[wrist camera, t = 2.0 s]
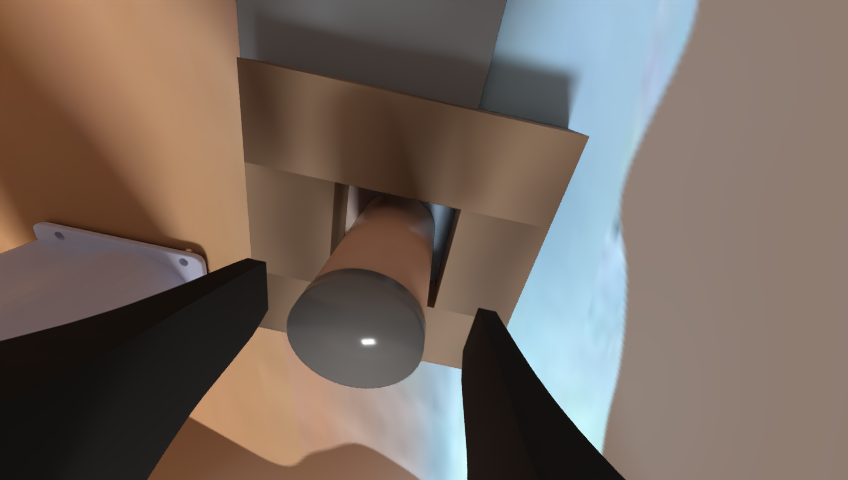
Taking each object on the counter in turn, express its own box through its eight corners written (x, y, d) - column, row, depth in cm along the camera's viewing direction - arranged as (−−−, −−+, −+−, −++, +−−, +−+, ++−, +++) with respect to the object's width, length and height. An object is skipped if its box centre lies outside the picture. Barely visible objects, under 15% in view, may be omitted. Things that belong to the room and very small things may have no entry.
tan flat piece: (277, 301, 19) (256, 326, 17) (269, 61, 13) (236, 57, 11) (482, 344, 19) (485, 374, 17) (568, 129, 13) (589, 136, 11)
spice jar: (354, 255, 17) (287, 373, 10) (362, 184, 15) (285, 269, 8) (427, 270, 17) (410, 399, 10) (443, 202, 15) (437, 302, 8)
